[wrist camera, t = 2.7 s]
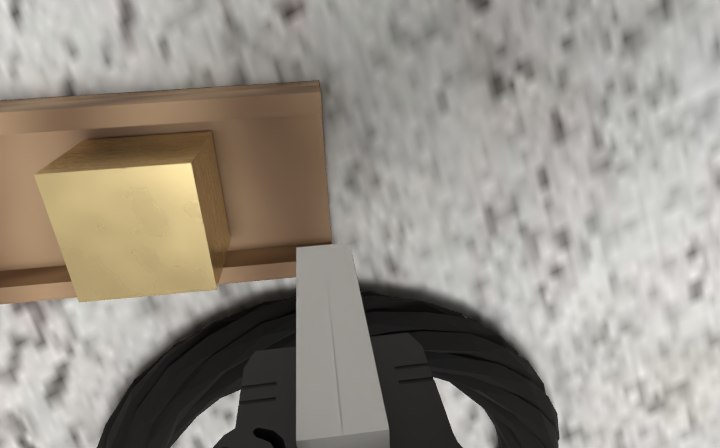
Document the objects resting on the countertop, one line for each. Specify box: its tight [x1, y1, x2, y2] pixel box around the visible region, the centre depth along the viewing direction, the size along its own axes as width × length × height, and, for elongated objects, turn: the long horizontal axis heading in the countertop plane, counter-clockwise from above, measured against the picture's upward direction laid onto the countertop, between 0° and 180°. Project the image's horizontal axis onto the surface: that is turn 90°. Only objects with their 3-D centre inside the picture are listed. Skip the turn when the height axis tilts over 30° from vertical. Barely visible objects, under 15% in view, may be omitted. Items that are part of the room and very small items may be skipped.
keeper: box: [34, 131, 231, 302], centre depth 19 cm, size 5×5×4 cm
